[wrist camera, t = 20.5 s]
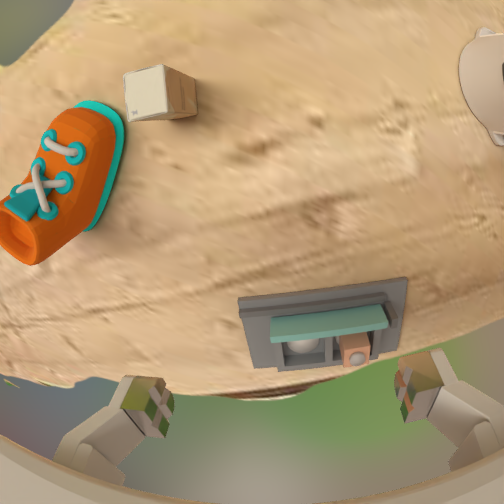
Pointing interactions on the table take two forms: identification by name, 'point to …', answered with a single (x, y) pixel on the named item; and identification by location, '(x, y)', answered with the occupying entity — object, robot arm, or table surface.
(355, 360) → the peach button block
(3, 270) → the table surface
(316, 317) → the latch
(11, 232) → the toy shoe
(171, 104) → the box
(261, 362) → the housing
